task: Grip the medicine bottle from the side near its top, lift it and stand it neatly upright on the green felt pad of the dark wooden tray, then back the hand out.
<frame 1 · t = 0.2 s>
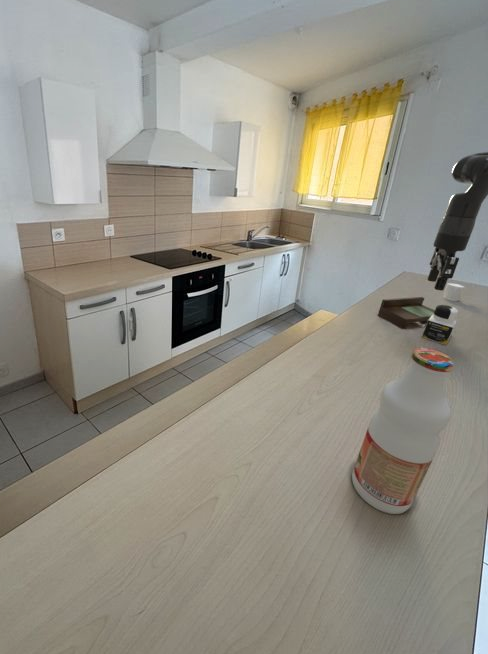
hand: (434, 285, 98), 22 cm above the worktop, tool pointing down, fingers open, 8 cm apart
fruit juice: (379, 490, 58), on the worktop
dark wooden tray: (410, 320, 127), on the worktop
white cylinder: (450, 299, 152), on the worktop
medicine bottle: (435, 338, 114), on the worktop
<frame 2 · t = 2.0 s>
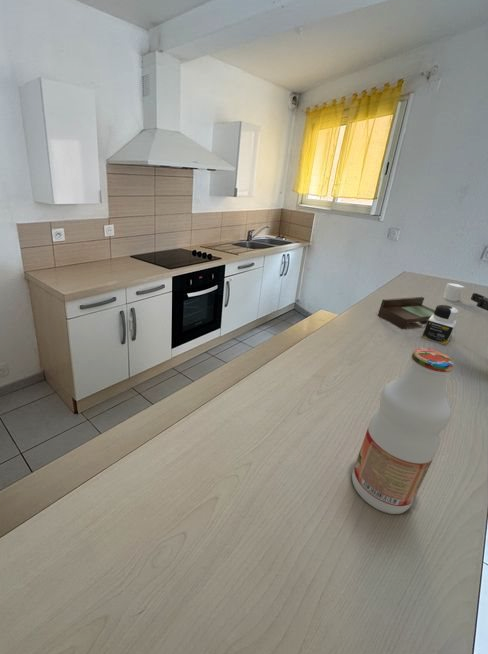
hand: (486, 296, 96), 20 cm above the worktop, tool horizontal, fingers open, 8 cm apart
nothing on the worktop moved.
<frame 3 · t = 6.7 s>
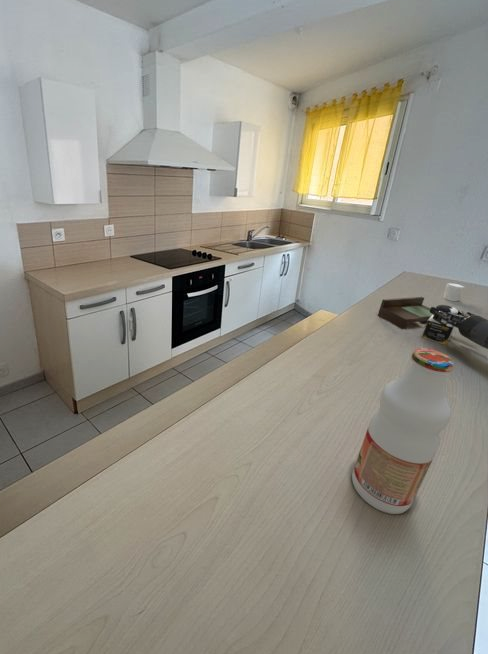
hand: (440, 309, 112), 10 cm above the worktop, tool horizontal, fingers closed on medicine bottle, 6 cm apart
medicine bottle: (435, 338, 114), on the worktop, touching gripper
everything else where it was.
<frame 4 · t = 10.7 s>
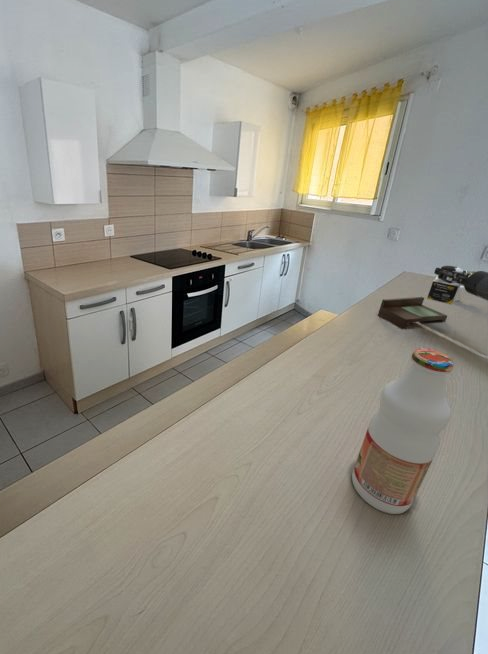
hand: (445, 270, 112), 23 cm above the worktop, tool horizontal, fingers closed on medicine bottle, 6 cm apart
medicine bottle: (440, 300, 113), point 12 cm above the worktop, touching gripper
everything else where it was.
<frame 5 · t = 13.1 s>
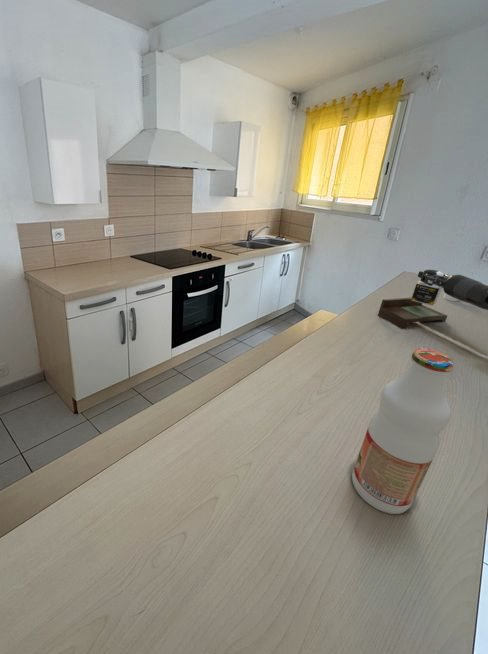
hand: (427, 274, 121), 18 cm above the worktop, tool horizontal, fingers closed on medicine bottle, 6 cm apart
medicine bottle: (423, 301, 123), point 8 cm above the worktop, touching gripper
everything else where it was.
when the fingers open (14 cm above the worktop, at t = 14.9 s): medicine bottle stays where it is, resting on dark wooden tray.
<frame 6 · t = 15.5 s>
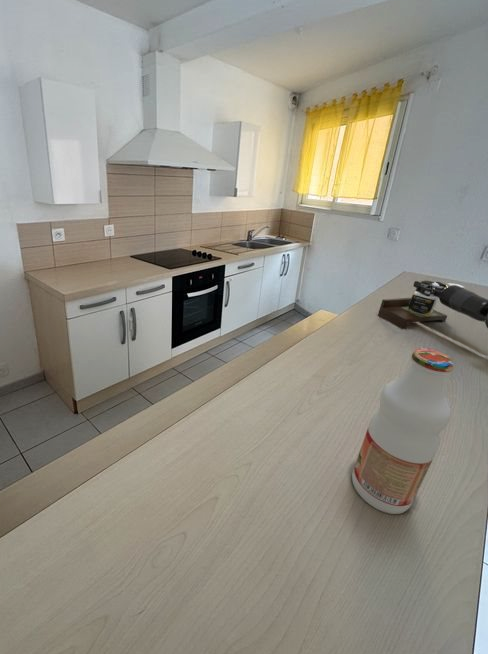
hand: (425, 283, 123), 15 cm above the worktop, tool horizontal, fingers open, 8 cm apart
medicine bottle: (419, 311, 125), point 4 cm above the worktop, touching dark wooden tray
everything else where it was.
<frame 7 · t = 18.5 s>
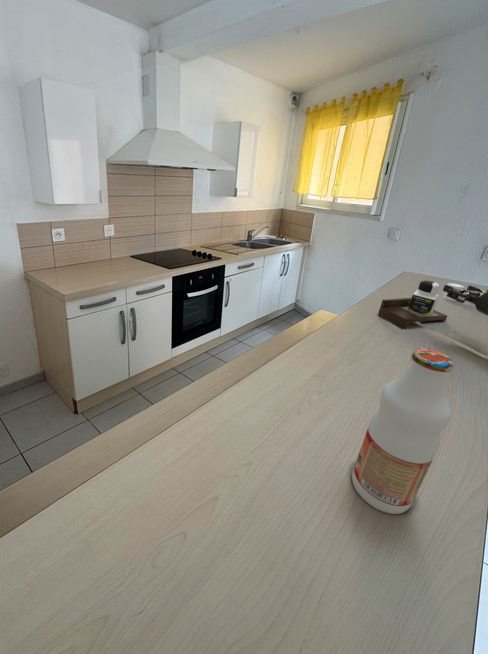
hand: (456, 288, 109), 18 cm above the worktop, tool horizontal, fingers open, 8 cm apart
nothing on the worktop moved.
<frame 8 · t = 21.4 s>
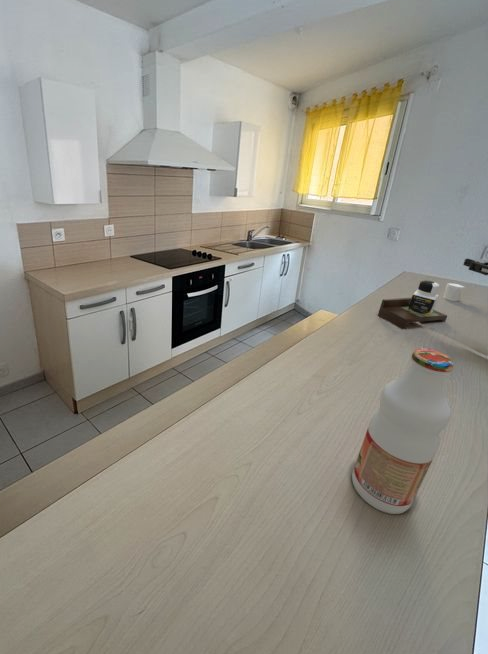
hand: (477, 262, 102), 28 cm above the worktop, tool horizontal, fingers open, 8 cm apart
nothing on the worktop moved.
at the end: medicine bottle inside the target area (0.1 cm from its centre), point 4.0 cm above the worktop; medicine bottle tilted 0°; the gripper is holding nothing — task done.
